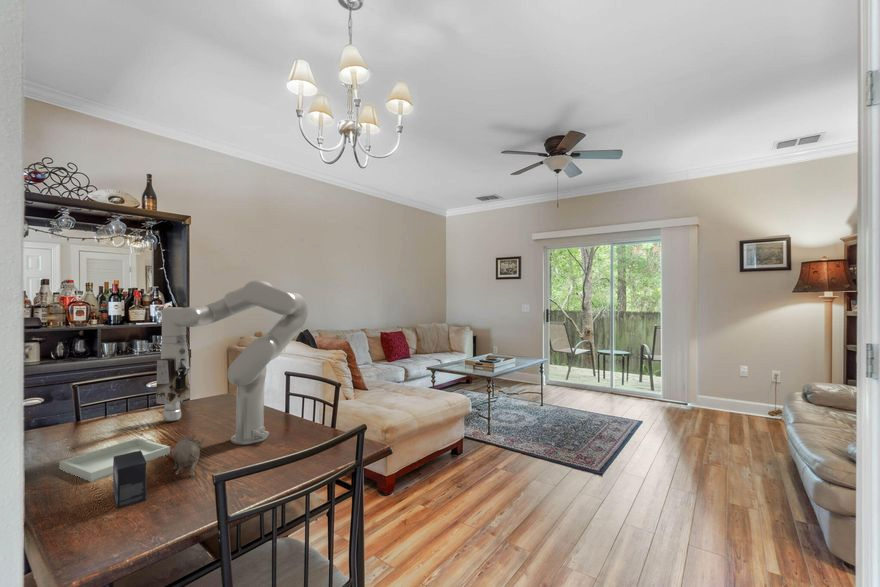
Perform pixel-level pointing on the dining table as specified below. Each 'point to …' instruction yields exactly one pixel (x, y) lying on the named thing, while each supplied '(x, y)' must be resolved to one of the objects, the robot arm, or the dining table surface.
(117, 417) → the dining table surface
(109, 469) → the tray
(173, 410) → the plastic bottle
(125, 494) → the small box
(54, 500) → the dining table surface
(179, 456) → the rhinoceros figurine
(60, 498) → the dining table surface
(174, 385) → the coffee box
